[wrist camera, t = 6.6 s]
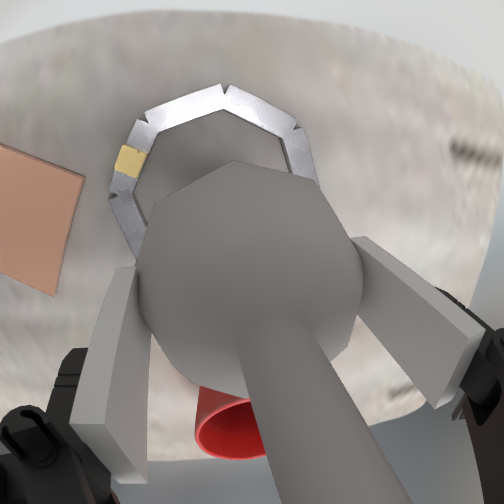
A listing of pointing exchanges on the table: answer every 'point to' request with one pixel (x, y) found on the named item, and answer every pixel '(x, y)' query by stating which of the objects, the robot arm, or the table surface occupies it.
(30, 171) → the coaster
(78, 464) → the robot arm
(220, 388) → the potion bottle
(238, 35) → the table surface
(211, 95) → the collar
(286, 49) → the table surface
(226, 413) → the flower pot
